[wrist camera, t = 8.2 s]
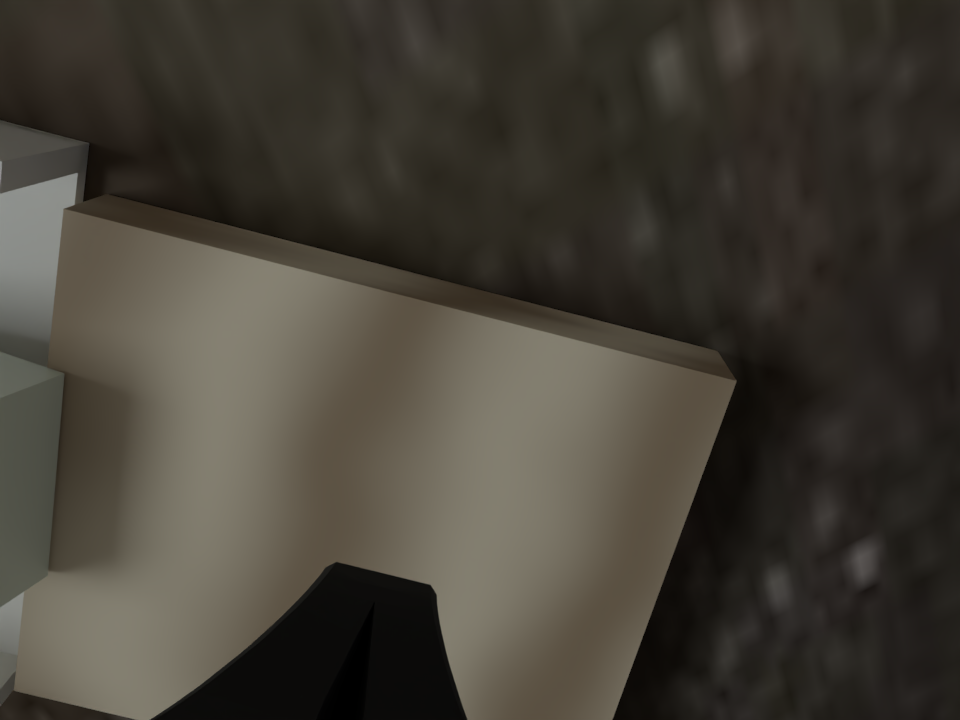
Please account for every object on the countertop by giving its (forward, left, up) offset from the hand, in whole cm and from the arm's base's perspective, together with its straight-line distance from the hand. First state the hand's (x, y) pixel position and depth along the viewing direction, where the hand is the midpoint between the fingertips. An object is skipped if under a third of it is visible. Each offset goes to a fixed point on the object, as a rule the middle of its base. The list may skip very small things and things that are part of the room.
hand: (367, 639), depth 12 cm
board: (+1, +4, -10) cm, 11 cm away
